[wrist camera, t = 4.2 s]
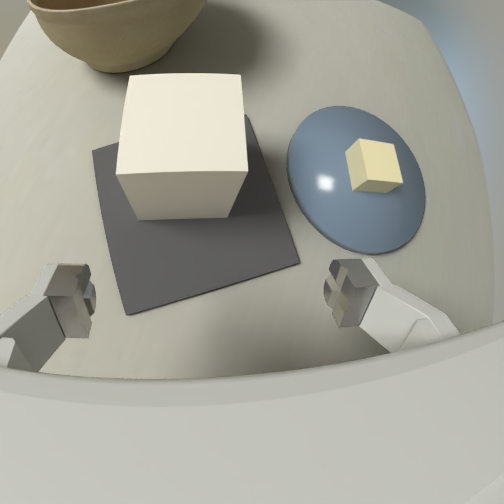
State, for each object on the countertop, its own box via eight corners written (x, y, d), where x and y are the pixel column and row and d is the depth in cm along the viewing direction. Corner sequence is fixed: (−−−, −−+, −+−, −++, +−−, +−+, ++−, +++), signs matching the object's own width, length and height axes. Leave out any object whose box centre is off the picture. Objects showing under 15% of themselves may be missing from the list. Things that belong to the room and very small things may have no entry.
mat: (297, 263, 23) (299, 262, 23) (127, 315, 20) (126, 315, 20) (245, 116, 25) (246, 114, 24) (93, 152, 22) (92, 150, 21)
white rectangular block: (227, 217, 23) (248, 171, 15) (138, 220, 21) (115, 174, 13) (223, 140, 24) (240, 74, 16) (142, 142, 22) (129, 75, 15)
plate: (436, 232, 27) (443, 229, 26) (321, 276, 24) (326, 274, 23) (383, 109, 29) (388, 104, 28) (263, 119, 25) (266, 112, 24)
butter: (386, 192, 25) (403, 182, 23) (352, 190, 24) (367, 179, 22) (378, 156, 26) (393, 144, 23) (345, 152, 25) (358, 138, 23)
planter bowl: (69, 130, 22) (25, 43, 11) (49, 35, 23) (28, -33, 12) (235, 68, 26) (260, -23, 15) (176, -8, 27) (183, -78, 16)
